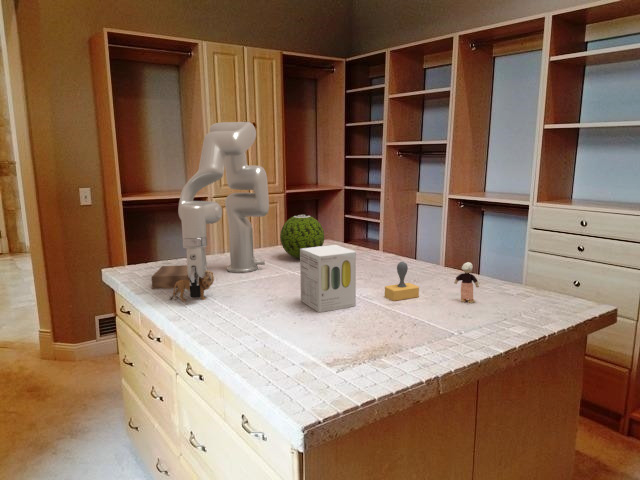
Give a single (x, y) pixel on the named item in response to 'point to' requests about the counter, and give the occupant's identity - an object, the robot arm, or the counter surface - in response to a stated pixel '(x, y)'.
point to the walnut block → (169, 276)
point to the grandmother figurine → (467, 283)
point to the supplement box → (328, 277)
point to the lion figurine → (185, 284)
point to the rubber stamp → (401, 286)
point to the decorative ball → (301, 234)
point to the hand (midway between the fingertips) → (198, 292)
